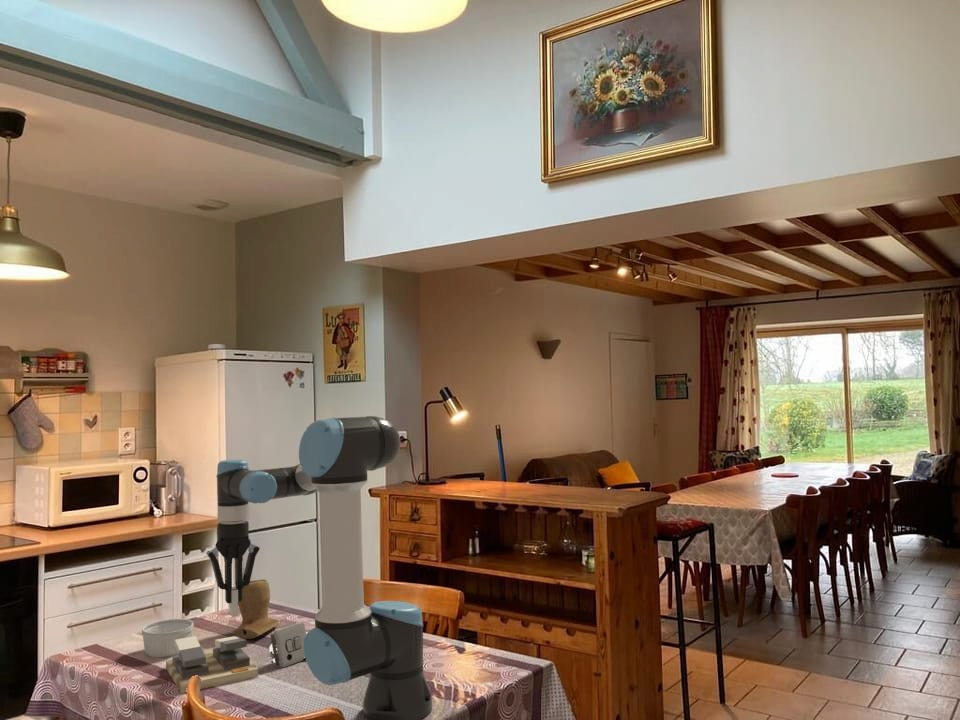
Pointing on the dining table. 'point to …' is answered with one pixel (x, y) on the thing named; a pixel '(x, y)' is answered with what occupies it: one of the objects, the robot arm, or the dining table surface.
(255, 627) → the tan piece
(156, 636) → the ramekin
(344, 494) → the robot arm
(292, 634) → the electrical switch
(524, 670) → the dining table surface
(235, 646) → the rocker
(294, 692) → the dining table surface
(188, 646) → the rocker
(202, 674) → the switch board
